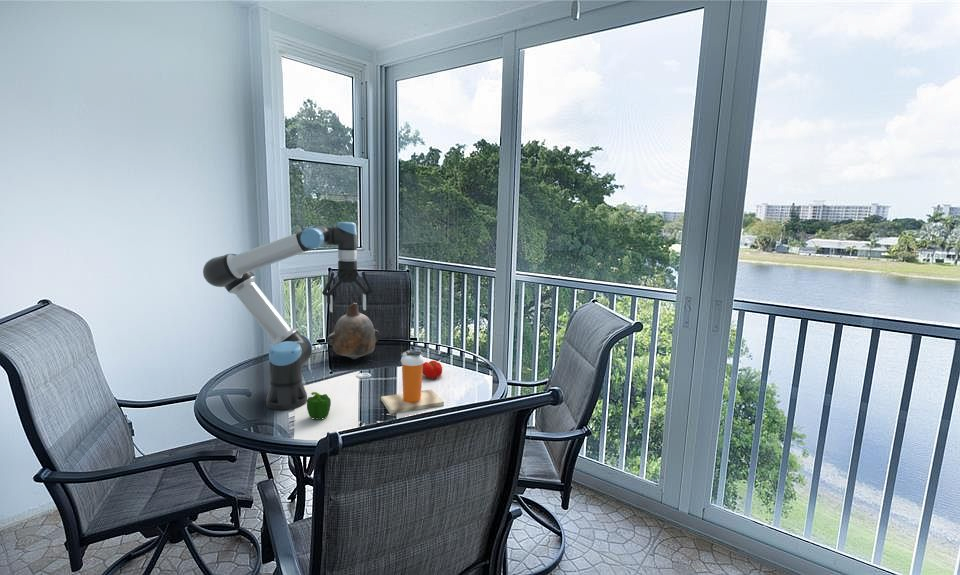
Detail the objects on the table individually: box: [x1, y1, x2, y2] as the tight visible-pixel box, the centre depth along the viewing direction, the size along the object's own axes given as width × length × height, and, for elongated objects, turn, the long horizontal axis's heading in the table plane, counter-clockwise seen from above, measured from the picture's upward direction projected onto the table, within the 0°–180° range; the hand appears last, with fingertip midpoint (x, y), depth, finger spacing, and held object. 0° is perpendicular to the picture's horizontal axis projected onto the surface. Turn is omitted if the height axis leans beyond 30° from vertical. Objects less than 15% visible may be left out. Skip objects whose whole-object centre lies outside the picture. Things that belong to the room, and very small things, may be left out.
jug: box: [326, 302, 381, 360], centre depth 238 cm, size 24×21×30 cm
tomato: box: [422, 360, 443, 379], centre depth 220 cm, size 10×11×6 cm
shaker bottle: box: [400, 349, 425, 403], centre depth 188 cm, size 9×9×20 cm
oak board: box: [380, 389, 445, 415], centre depth 190 cm, size 22×14×2 cm, turn 116°
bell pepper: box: [306, 391, 332, 420], centre depth 173 cm, size 8×8×10 cm
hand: (348, 310), depth 195 cm, fingers open, 13 cm apart
